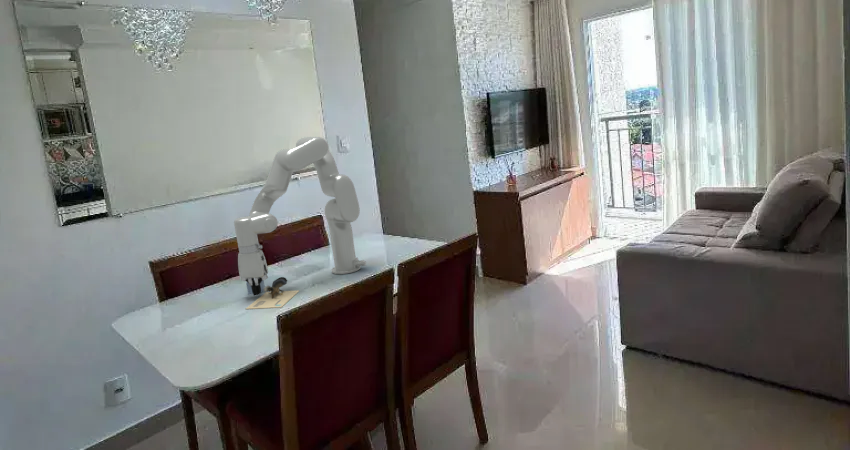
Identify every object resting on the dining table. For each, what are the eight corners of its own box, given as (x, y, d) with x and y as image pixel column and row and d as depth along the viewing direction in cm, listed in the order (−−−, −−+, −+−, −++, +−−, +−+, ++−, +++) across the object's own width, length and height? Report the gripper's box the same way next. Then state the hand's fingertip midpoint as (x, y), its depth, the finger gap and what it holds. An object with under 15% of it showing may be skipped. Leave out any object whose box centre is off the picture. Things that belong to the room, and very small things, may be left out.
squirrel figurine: (286, 294, 208) (292, 283, 216) (272, 281, 206) (279, 270, 214) (272, 305, 210) (279, 293, 218) (258, 292, 208) (266, 281, 216)
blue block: (265, 289, 223) (263, 277, 222) (259, 293, 218) (257, 281, 217) (253, 290, 224) (251, 278, 223) (248, 294, 219) (246, 282, 218)
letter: (299, 290, 216) (299, 290, 216) (281, 307, 198) (281, 306, 198) (266, 292, 218) (266, 292, 218) (245, 309, 201) (245, 308, 201)
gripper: (271, 245, 212) (279, 290, 216) (235, 247, 214) (243, 292, 218) (263, 250, 205) (271, 296, 208) (226, 252, 207) (234, 298, 211)
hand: (257, 294), depth 213 cm, fingers closed
